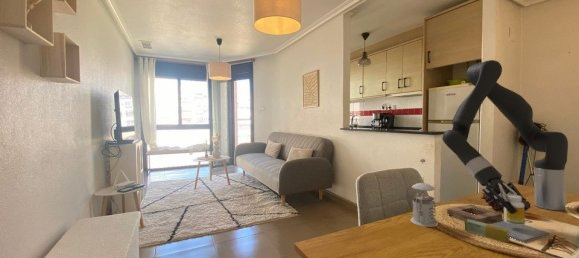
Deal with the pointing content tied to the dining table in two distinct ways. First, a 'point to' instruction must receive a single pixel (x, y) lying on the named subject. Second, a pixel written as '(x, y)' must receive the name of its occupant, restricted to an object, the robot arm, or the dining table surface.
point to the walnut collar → (479, 212)
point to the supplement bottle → (519, 216)
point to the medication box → (487, 230)
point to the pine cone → (498, 205)
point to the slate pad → (522, 231)
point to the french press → (423, 206)
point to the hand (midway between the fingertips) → (520, 211)
